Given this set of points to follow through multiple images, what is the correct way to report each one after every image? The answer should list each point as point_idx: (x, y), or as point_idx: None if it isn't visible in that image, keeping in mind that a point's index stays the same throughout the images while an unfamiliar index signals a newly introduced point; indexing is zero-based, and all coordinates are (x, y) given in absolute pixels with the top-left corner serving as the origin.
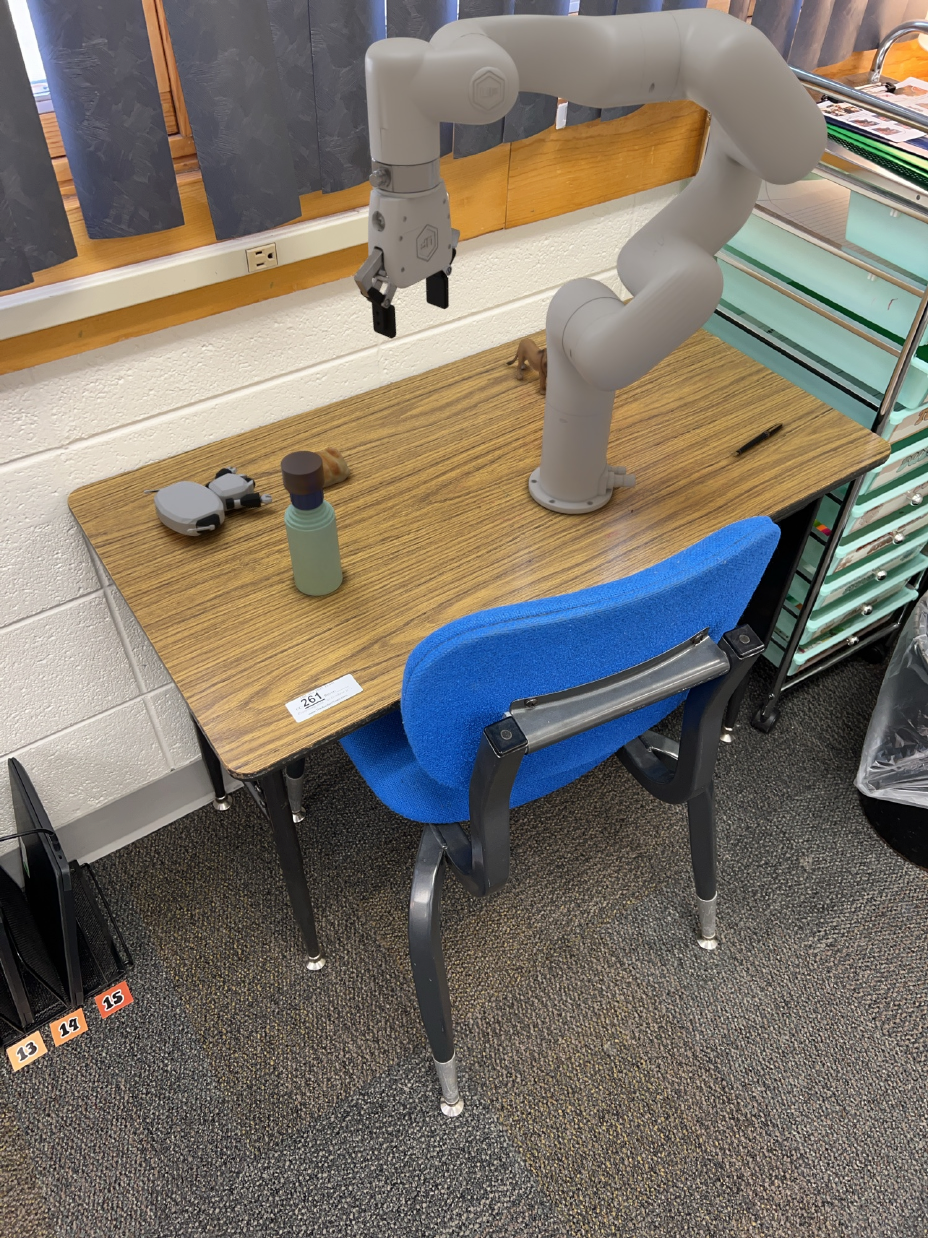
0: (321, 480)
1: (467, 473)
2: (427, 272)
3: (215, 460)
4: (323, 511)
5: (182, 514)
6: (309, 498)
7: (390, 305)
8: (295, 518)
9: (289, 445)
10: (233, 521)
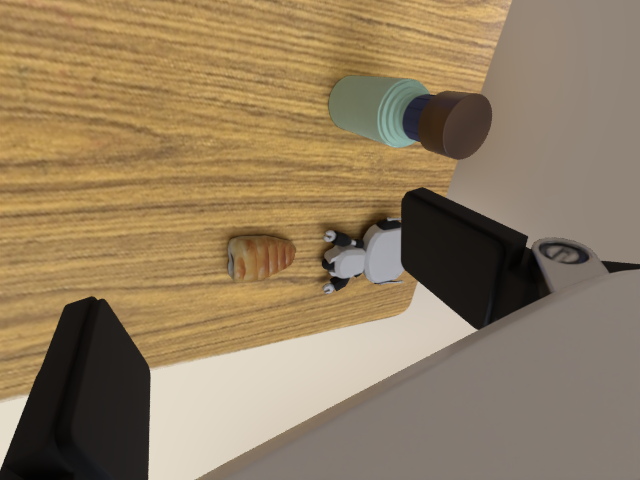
0: (445, 95)
1: (67, 164)
2: (448, 410)
3: (316, 314)
4: (408, 93)
5: None
6: None
7: (515, 254)
8: None
9: (251, 312)
10: (353, 231)
